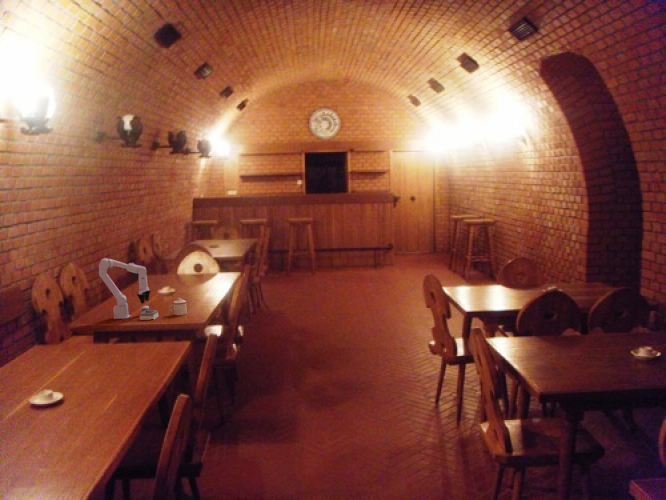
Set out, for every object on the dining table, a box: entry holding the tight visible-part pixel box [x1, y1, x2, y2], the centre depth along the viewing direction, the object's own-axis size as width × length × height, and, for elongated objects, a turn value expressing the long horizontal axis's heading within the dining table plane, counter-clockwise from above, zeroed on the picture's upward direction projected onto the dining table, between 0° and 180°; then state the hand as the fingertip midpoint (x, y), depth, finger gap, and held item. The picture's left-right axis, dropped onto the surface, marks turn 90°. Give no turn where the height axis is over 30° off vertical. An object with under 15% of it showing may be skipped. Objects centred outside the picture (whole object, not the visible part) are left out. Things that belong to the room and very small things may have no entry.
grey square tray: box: [139, 309, 159, 321], centre depth 413 cm, size 10×9×4 cm
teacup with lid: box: [168, 297, 188, 316], centre depth 420 cm, size 12×9×12 cm
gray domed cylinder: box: [141, 305, 150, 313], centre depth 422 cm, size 5×5×6 cm
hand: (144, 302), depth 421 cm, fingers open, 7 cm apart
